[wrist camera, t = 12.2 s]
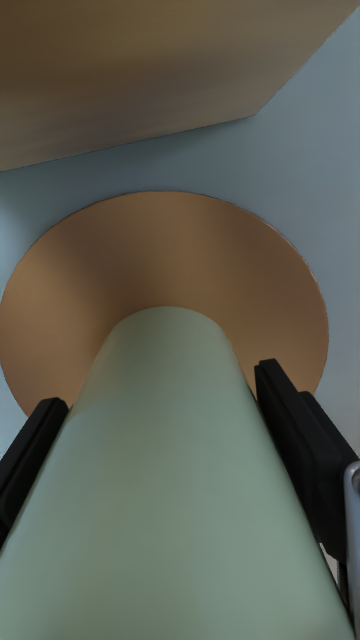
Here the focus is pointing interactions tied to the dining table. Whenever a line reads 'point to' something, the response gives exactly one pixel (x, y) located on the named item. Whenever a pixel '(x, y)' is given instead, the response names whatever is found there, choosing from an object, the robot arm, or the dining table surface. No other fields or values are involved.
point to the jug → (166, 506)
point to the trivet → (157, 289)
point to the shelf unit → (144, 67)
